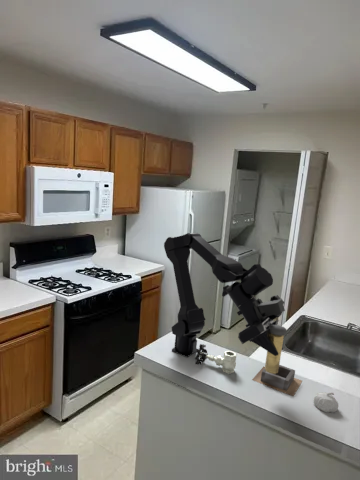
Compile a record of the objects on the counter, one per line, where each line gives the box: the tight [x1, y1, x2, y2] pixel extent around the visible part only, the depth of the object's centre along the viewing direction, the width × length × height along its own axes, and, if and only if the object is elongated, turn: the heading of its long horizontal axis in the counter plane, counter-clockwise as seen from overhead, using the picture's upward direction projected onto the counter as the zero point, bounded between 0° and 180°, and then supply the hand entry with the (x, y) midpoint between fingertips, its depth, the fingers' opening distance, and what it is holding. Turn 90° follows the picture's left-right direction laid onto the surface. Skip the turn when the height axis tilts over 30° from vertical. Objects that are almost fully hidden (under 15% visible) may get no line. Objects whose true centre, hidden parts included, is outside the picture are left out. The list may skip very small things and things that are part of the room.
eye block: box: [251, 364, 303, 397], centre depth 102 cm, size 12×10×4 cm
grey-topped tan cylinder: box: [264, 324, 288, 374], centre depth 94 cm, size 5×5×12 cm
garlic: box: [313, 392, 339, 413], centre depth 92 cm, size 6×5×5 cm
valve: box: [194, 343, 237, 375], centre depth 107 cm, size 7×7×12 cm
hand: (279, 352), depth 93 cm, fingers closed on grey-topped tan cylinder, 4 cm apart
